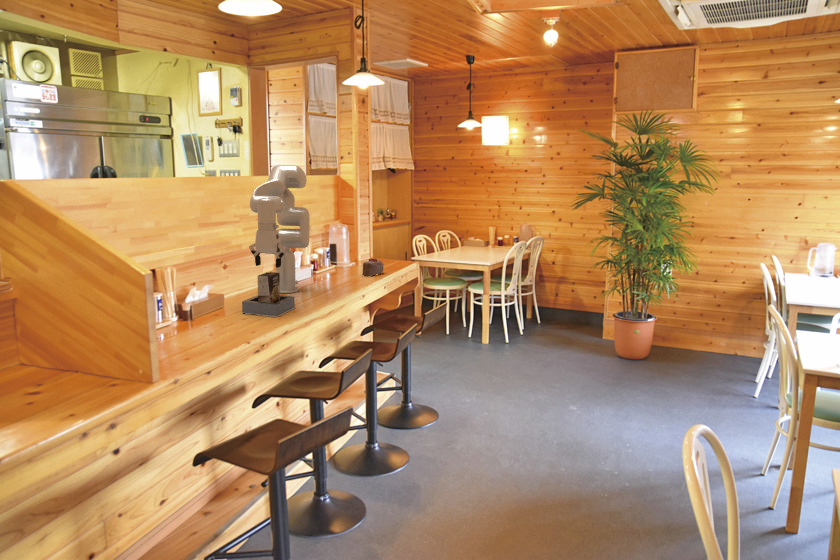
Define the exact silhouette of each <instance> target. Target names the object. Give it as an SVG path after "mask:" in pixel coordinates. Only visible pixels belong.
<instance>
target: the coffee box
mask: <svg viewBox="0 0 840 560" xmlns="http://www.w3.org/2000/svg"><path fill="white" fill-rule="evenodd" d="M257 295H258V302H266V303H276V302H279V301H280V295H281V293H280V273H276V272H264V273H261V274H258V275H257Z"/></svg>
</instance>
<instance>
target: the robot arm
mask: <svg viewBox="0 0 840 560" xmlns="http://www.w3.org/2000/svg"><path fill="white" fill-rule="evenodd" d="M306 184H307V175H306V173H305V171H304V170H303V168H302V167H300V166H299V165H296V164H295V165H293V164H277V165H274V166H273V167H272V168H271V170H270V173H269V176H268V179H267V181H266V182H264V183H262V184H260V185H258V186H257V187H256V188H254V190H253V191H252V194H251V197H250V200H249V208H250V210H251V211H252V213H255V214H257V230H256V232H255V240H254V241H255V242H254V243H253V244H251V245H249V246H248V248H249V249H250V253H251V254H252V255H253V257H254V264H255V266H256V267H259V266H261V265H262V263H261V260H262V259H261V256H260V255H261V254H268V255H274V256H275V273H280V294H293V293H297V292H299V290H300V288H299V287H297V286H296V285H297V284H299V281H298V280H297V278H296V256H295V254H294V252H293V250H291V249H306V248H308V246H309V245H310V223H311V222H310V221H311V220H310V217H311V216H310V212H309V210H308V208H306V207H302V206H295V205H296V204H295V195H294V193H292V191H291V190H290V189H304V188H305V187H306ZM280 226H282V227H283V226H286V227H299V228H280Z"/></svg>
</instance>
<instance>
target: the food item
mask: <svg viewBox="0 0 840 560" xmlns="http://www.w3.org/2000/svg"><path fill="white" fill-rule="evenodd" d="M383 272H384V263H383V261H382V260H379V259H377V258H369V259H368V261H364V262H363V263H362V276H363V275H366V276H365V277H368V276H371V277H373V276H372V275H374V276H376V274H378V275H381V274H382V273H383ZM380 273H381V274H380Z"/></svg>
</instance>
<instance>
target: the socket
mask: <svg viewBox="0 0 840 560" xmlns="http://www.w3.org/2000/svg"><path fill="white" fill-rule="evenodd" d="M295 297H296V296H293V295H292V296H291V295H284V294H283V295H282V294H280V301H279V302H276V303H266V302H258V294H257V295H255V296H252V297H250V298H247V299H245V300H242V301H241V310H242V311H241V312H242V313H245V314H244V315H250V314H256V315H255V316H260V315H263V317H273V318H278V317H280V316H282V315H285V314H286V313H288V312H290V311H292V310H295V308H296V305H295V304H296V302H295V301H296V300H295V299H296V298H295ZM242 313H241V314H242Z"/></svg>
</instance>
